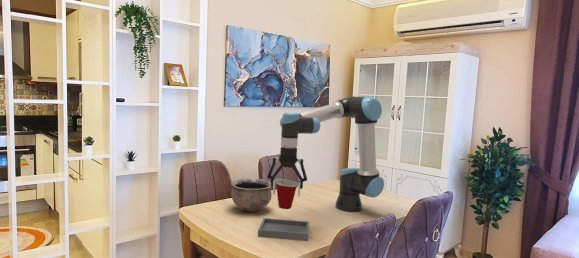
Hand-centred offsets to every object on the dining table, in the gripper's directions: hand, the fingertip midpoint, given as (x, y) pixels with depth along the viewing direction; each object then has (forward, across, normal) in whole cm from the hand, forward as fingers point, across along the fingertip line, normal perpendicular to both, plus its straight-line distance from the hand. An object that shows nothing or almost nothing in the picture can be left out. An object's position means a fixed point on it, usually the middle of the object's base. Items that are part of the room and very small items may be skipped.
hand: (286, 194), depth 164 cm
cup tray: (+18, 0, 0) cm, 18 cm away
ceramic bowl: (+18, +21, -28) cm, 39 cm away
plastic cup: (+6, 0, 0) cm, 6 cm away
